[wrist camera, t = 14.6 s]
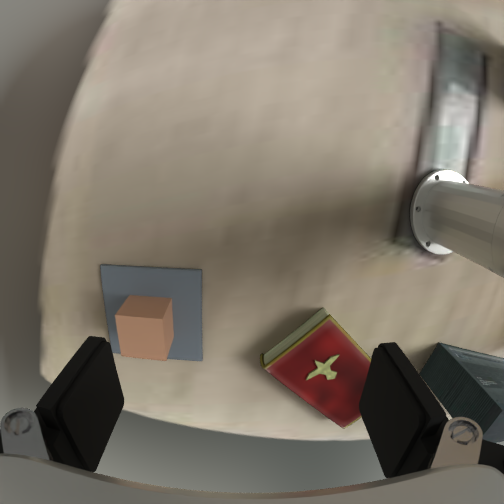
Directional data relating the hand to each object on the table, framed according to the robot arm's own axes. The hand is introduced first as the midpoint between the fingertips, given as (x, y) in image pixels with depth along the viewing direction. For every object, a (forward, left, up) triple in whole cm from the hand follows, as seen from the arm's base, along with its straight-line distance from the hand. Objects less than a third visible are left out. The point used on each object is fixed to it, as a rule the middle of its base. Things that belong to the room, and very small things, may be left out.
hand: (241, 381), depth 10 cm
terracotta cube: (+11, +14, -29) cm, 34 cm away
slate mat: (+11, +14, -30) cm, 35 cm away
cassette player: (-49, +27, -30) cm, 63 cm away
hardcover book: (-16, +23, -31) cm, 41 cm away
